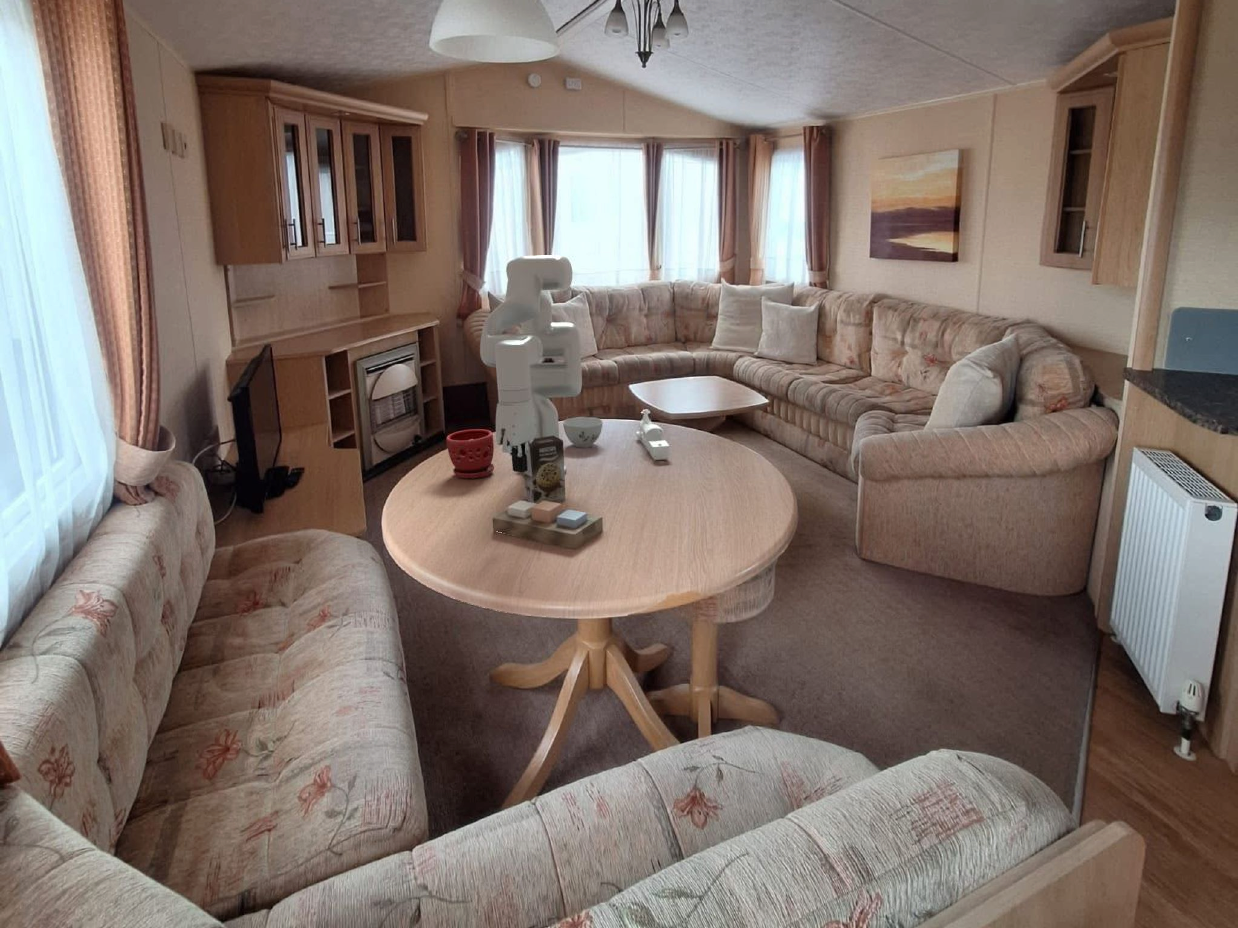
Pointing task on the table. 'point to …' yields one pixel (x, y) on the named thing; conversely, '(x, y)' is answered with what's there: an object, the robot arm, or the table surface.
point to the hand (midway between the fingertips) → (520, 470)
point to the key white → (521, 509)
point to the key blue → (572, 518)
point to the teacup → (582, 430)
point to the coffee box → (545, 470)
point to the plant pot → (471, 452)
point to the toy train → (652, 438)
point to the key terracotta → (546, 511)
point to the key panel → (548, 529)
